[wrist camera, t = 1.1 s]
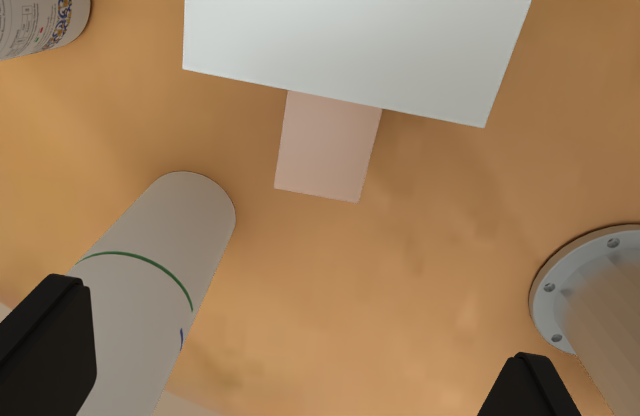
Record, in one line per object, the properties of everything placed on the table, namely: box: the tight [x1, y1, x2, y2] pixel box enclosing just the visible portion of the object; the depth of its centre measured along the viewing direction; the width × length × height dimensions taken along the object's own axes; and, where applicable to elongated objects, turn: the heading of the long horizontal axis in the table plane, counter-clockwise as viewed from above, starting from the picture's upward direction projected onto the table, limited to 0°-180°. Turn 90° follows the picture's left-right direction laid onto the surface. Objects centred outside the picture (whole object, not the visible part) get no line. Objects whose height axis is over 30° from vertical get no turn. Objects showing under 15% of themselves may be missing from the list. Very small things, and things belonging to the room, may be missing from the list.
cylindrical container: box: [65, 171, 236, 416], centre depth 22 cm, size 7×7×25 cm
